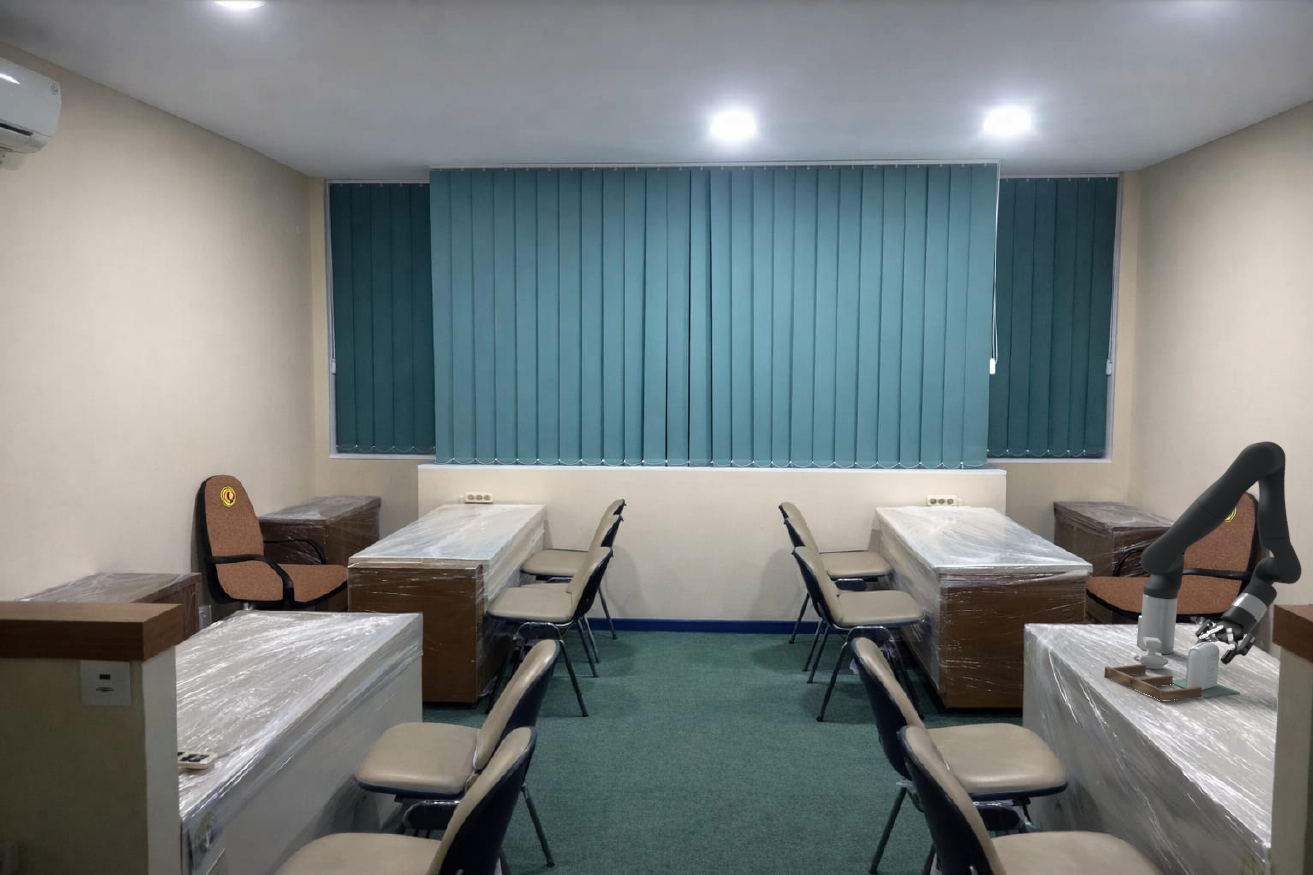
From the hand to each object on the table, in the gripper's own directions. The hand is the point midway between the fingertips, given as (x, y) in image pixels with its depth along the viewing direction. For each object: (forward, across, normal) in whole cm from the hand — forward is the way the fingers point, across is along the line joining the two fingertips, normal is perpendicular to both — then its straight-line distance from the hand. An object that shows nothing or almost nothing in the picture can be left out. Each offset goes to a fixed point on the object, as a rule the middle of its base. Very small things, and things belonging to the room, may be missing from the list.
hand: (1209, 657), depth 244 cm
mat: (+7, 0, +5) cm, 9 cm away
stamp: (+8, -17, +5) cm, 19 cm away
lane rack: (+16, -4, -4) cm, 18 cm away
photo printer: (+7, 0, +4) cm, 9 cm away
